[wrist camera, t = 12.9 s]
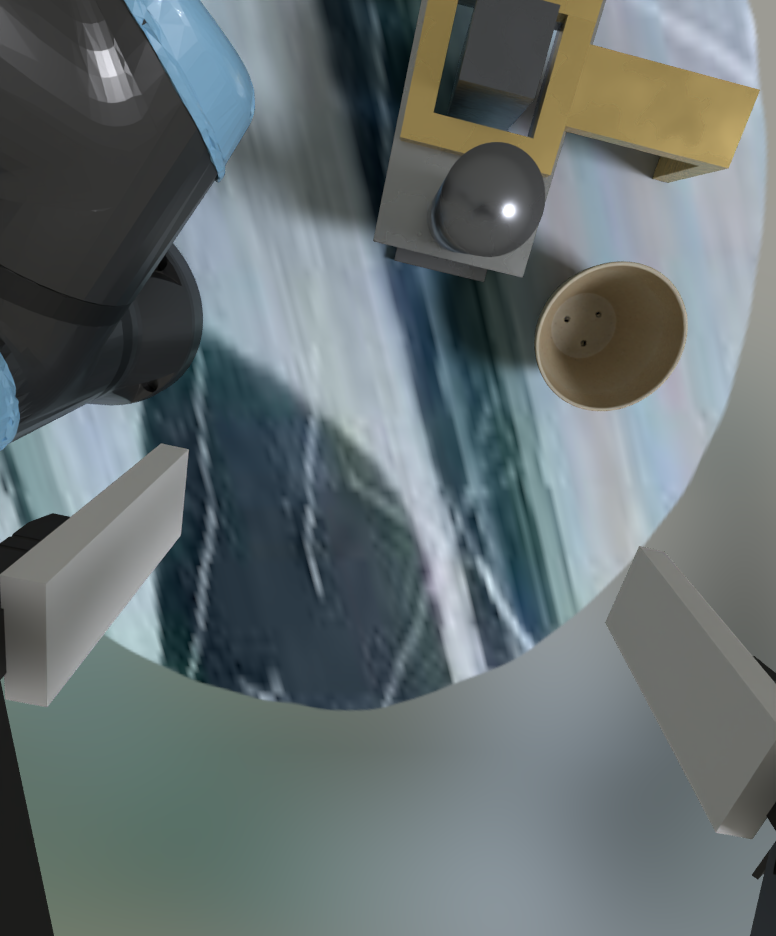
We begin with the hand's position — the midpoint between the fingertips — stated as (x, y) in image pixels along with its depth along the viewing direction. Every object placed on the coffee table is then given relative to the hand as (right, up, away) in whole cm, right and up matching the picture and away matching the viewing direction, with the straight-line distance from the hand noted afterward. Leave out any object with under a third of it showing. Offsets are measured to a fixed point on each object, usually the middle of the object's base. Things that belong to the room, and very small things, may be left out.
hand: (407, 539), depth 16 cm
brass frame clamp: (+10, +24, +24) cm, 35 cm away
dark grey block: (+6, +28, +23) cm, 36 cm away
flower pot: (+15, +13, +29) cm, 35 cm away
